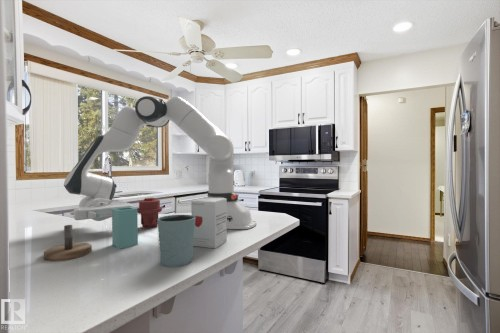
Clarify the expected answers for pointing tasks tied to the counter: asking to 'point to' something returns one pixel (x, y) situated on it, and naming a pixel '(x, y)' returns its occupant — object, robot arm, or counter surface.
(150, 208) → the mechanical component
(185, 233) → the teal cup
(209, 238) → the supplement box
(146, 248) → the counter surface
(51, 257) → the post stand
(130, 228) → the teal box
